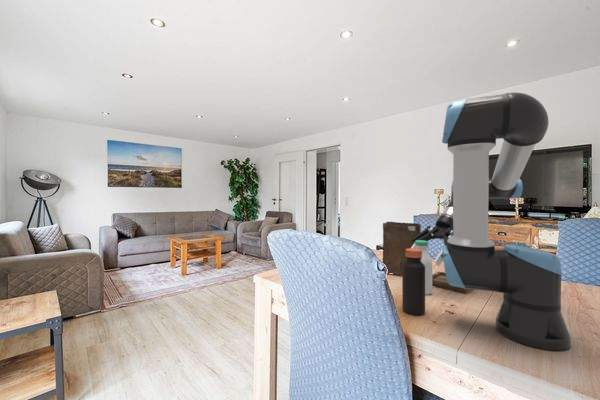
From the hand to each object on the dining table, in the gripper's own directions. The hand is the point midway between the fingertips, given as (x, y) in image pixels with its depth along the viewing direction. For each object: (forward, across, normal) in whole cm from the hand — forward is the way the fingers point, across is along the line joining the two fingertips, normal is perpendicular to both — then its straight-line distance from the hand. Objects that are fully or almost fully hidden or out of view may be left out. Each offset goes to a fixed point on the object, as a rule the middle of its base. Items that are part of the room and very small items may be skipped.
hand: (421, 260), depth 105 cm
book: (+3, +20, -15) cm, 25 cm away
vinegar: (+21, -13, +4) cm, 25 cm away
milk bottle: (+10, -1, -8) cm, 12 cm away
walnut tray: (-4, +1, -21) cm, 22 cm away
